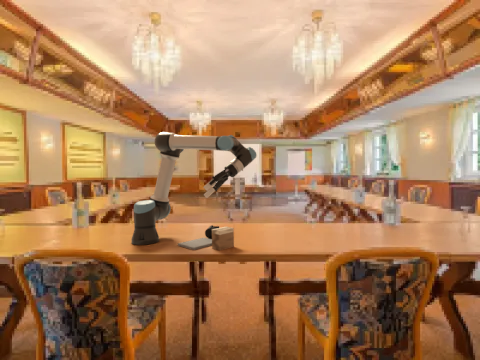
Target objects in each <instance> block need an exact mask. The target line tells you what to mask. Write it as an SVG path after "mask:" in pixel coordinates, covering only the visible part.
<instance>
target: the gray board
mask: <svg viewBox="0 0 480 360" xmlns="http://www.w3.org/2000/svg"><path fill="white" fill-rule="evenodd" d="M177 246H178V247H182V248H186V249H188V250H193V251H196V250H200V249H203V248H207V247H212V239H209V238H207V237H199V238H195V239H190V240H188V241H187V240H186V241H183V242H178V243H177Z"/></svg>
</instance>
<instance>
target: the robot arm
mask: <svg viewBox="0 0 480 360" xmlns="http://www.w3.org/2000/svg"><path fill="white" fill-rule="evenodd" d="M154 147H156V149H157V150H158V151H159V152H160V153H159V155H160V156H161V160H160V164H159V169H158V174H157V177H156V178H157V179H156V182H155V183H156V184H155V188H154V192H153V194H152V195H151V196H150V197H149V198H150V199H148V200H147V199H146V200H145V199H144V200H140V201H137V202H135V203H134V205H133V223H134V224H133V225H134V226H133V227H134V230H133V233H132V236H131V244H132V245H137V246H142V245H143V246H144V245H151V244H152V245H153V244H156V243H158V242H159V241H160V236H159V233H158V231H157V228H156V222H157V221H159V220H163V219H165V218H166V217H168V216H169V214H170V212H171V211H172V210H171V205H170V199H169V194H170V193H169V192H170V188H171V184H172V180H173V175H174V171H175V166H176V161H177V160H178V159H179V158H180V155H181V153H183V152H184V151H185V150H198V151H201V150H202V151H223V152H224V151H225V152H230V153H232V155H233V156H234V157H235V158H234V159H232V160H231V161H230V162H229V163H228V164H227V165H226V166H224V170H222V171H220V172H218V173H216V174H215V175H214V176H212V177H211V178H212V179H211V180H209V181H208V182H207V183H206V184H205V185H204V186H203V189H204V190H205V191H206V192H205V193H204V194H203V196H204V197H205V198H206V199H208V198H209V197H211V195H212V194H213V193H217V192H218V190H219V189H220V188H221V187H222V186H223V185H224V184H225V183H226V181H228V179H229V177H230V178H235V177H236V176H237V175H238V174H239V173H241V171H242V172H244V169H245V168H247V166H248V165H250V164H251V163H252V162H253V161H254V160H255V159H256V158H257V156H258V155H257V152H256V151H255V149H254V148H252V147H251V146H248V147H245V146H244V145H243V144H242V143H241V142H240V141H239V140H238V138H236V137H235V136H234V135H232V134H229V135H221V136H218V135H217V136H216V135H189V134H188V135H184V134H183V135H182V134H176V132H175V133H174V132H168V131H162V132H159V133H157V134H156V136H155V138H154Z"/></svg>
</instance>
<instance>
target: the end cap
mask: <svg viewBox="0 0 480 360" xmlns="http://www.w3.org/2000/svg"><path fill="white" fill-rule="evenodd" d="M216 228H220V226H218V225H217V226H215V225H213V224H212V225H209V226H208V228H207V229H205V231H204V235H205V238H208V239H212V229H216Z"/></svg>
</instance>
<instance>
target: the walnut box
mask: <svg viewBox="0 0 480 360" xmlns="http://www.w3.org/2000/svg"><path fill="white" fill-rule="evenodd" d="M234 230H235V229H234V227H231V226H230V227H229V226H223V227H219V228H216V229H212V245H211V249H212V250H216V251H224V250H226V249H231V248H234V247H235V241H234V240H235V235H234V234H235V233H234Z"/></svg>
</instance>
